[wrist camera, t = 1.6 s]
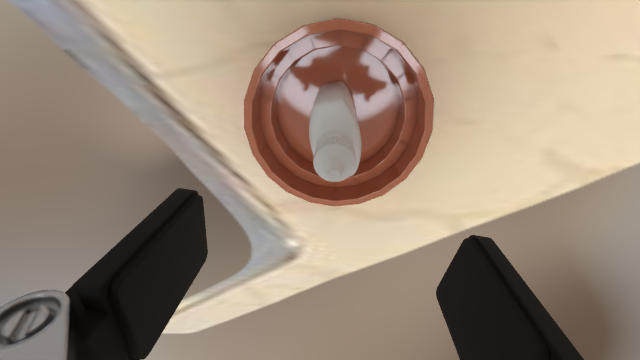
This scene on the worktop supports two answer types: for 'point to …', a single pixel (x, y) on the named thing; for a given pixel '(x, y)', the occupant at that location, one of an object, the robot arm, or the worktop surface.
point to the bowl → (369, 98)
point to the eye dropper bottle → (334, 133)
